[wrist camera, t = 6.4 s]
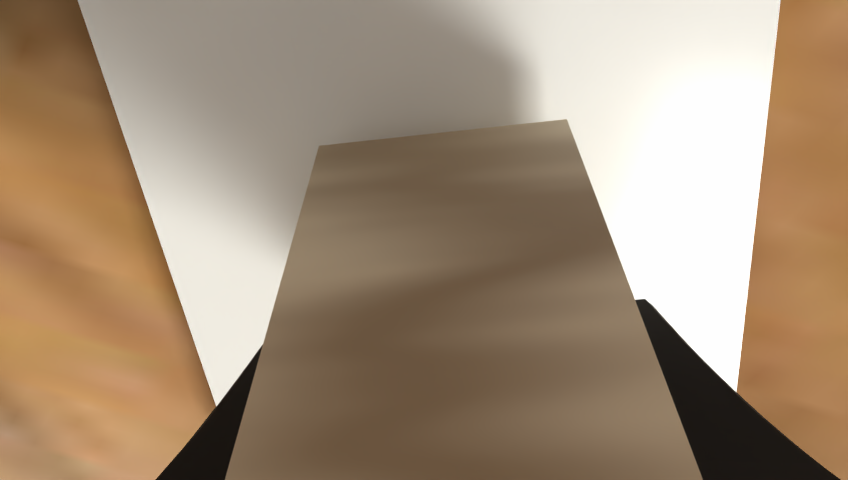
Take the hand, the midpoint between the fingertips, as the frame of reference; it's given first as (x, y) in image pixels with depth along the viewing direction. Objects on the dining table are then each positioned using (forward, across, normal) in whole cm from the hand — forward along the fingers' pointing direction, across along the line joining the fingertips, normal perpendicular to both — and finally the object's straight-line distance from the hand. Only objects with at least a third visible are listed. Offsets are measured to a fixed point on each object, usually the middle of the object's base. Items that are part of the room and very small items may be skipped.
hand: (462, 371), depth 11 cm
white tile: (+5, 0, 0) cm, 5 cm away
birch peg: (+3, 0, 0) cm, 3 cm away
